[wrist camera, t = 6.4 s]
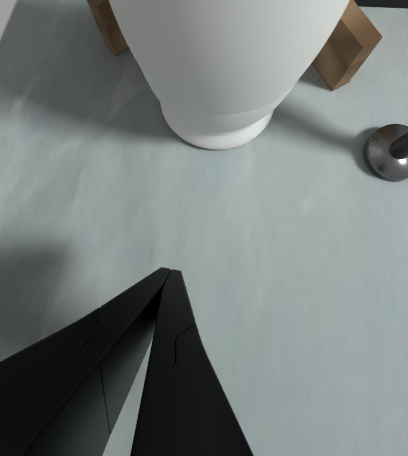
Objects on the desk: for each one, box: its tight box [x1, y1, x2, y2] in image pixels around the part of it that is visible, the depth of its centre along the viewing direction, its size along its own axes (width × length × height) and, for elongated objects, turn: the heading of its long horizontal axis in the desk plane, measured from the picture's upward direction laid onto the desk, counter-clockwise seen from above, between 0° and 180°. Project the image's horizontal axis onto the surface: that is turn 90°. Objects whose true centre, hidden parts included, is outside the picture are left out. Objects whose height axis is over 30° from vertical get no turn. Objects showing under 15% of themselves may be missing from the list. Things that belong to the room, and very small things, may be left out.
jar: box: [109, 0, 350, 150], centre depth 13 cm, size 11×10×15 cm
